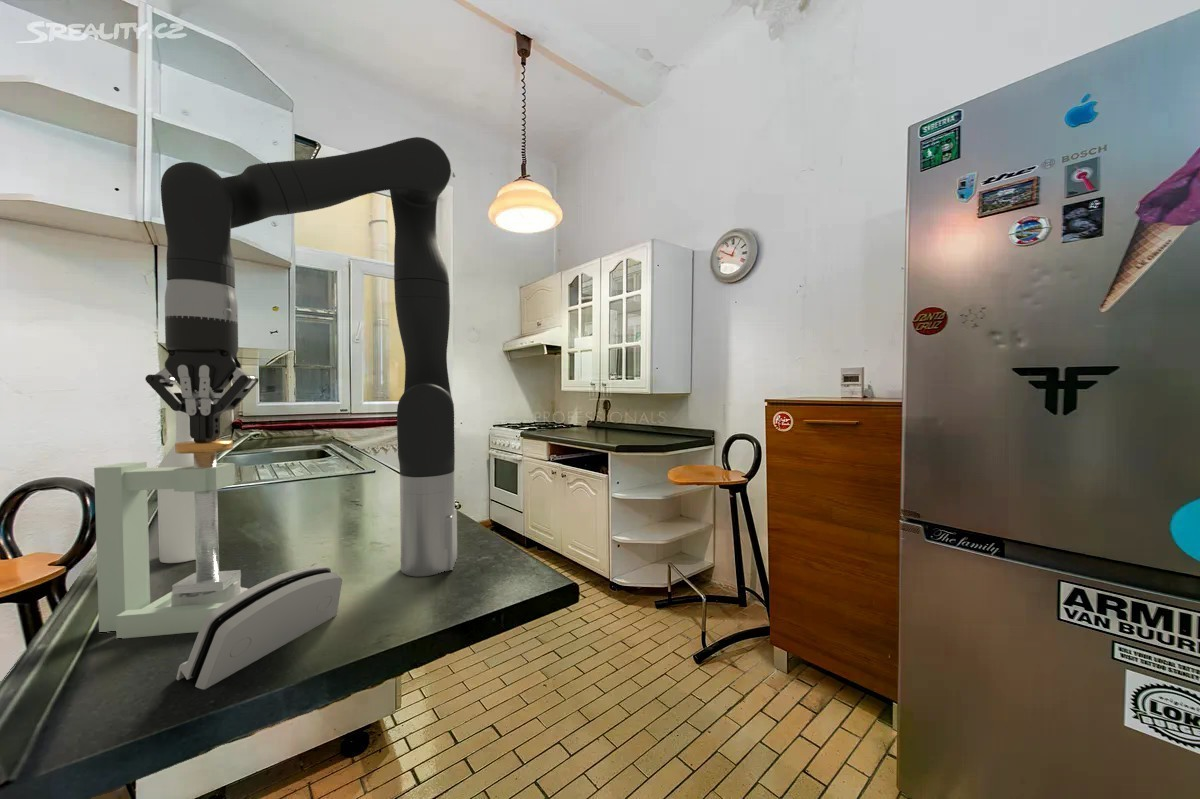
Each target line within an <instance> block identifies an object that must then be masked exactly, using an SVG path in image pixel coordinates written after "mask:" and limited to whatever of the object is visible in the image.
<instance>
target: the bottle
mask: <svg viewBox="0 0 1200 799" xmlns="http://www.w3.org/2000/svg"><path fill="white" fill-rule="evenodd" d="M187 441H194V438H191V436H190V417H189V415H188V414H187V413H185V412H181V411H175V442H174V444H173V446H172V447H171V449H169V451H168V452H167V454H165V456H164V458H162V460H161V462H159V465H158V466H157V468H163V467H186V466H190V465H194V459H193V453H190V454H180V453H175V443H179V442H187ZM156 492H157V520H158V522H157V524H158V526H157V527H158V559H159V562H161V563H163V564H178V563H185V562H191V561H196V542H195V500H194V492H180V491H174V489H158V490H156Z"/></svg>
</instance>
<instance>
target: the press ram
mask: <svg viewBox="0 0 1200 799" xmlns="http://www.w3.org/2000/svg"><path fill="white" fill-rule="evenodd" d="M233 443H234V442H233V439H229V438H228V439H222V438H221V439H219V438H218V439H217V438H216V441H213V442H200V443H196V442H194V441H187V442H179V443H175V442H174V444H175V453H180V454H190V453H193V459H194V468H211V467H215V466H217V463H218V462H217V461H218V459H217V453H218V452H224V451H230V450H233V449H234V446H233V445H234V444H233ZM194 500H195V542H196V559H195V572H194V573H192V574H190V575H188V576H186V577H184V578H183V579H181V580H179V581H177V582H176V583H174V584H172V586H171V588H172V591H171V592H172V593H173V594H180V593H194V592H207V591H221V590H224V589H226V588H227V587H229V586H230V585H231V584H233V583H234V582H236V581H237V580H239V579H240V580H241V579H242V572H241V569H236V570H221V571H220V554H219V553H220V552H219V551H220V550H219V549H220V548H219V512H218V511H219V508H218V507H219V506H218V504H219V503H218V502H219V501H218V490H207V491H194Z"/></svg>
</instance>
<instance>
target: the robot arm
mask: <svg viewBox="0 0 1200 799" xmlns="http://www.w3.org/2000/svg"><path fill="white" fill-rule="evenodd" d="M451 175H452V164H451V161H450V159H449V156H448V155H447V153H446V152H445V150H444V149H443V148H442V147H441V146H440V144H437V142H434V141H433V140H431V139H429V138H426V137H420V136H413V137H408V138H406V139H401V140H398V141H393V142H391V143H387V144H384V145H380V146H376V147H372V148H371V147H370V148H369V149H368V148H367V149H363V150H357V151H353V152H348V153H344V154H336V155H331V156H323V157H317V158H316V157H315V158H306V159H305V158H304V159H294V160H282V161H275V162H262V163H255V164H252V165H249V166H247V167H245V169H244V170H243V172H242V173H239V174H236V175H231V176H226V177H221V176H220V175H219V174H218V173H217V172H216V171H215V170H214V169H212V168H210V167H208V166H205V165H203V164H201V163H198V162H192V161H183V162H177V163H174V164H173V165H171V166H169V167H168V168H167V169H166V170H165V172H163V175H162V177H161V180H160V201H161V208H162V215H163V222H164V228H165V233H166V240H167V242H166V243H167V245H166V246H167V248H166V288H165V292H164V293H165V294H164V334H165V335H164V336H165V348H166V349H167V352H168V356H167V357H166V360H165V361H164V368H163V369H161V370H160V371H158V372H157V373H155V374H147V375H146V376H145V381H146V383H147V384H148V385H149V386H150V387H151V388H152V389H153V390H154V391H155V393H157V394H158V396H159V397H160V398H161V399H162V400H163V402H164V403H166V404H167V405H168V406H169V408H170V409H171V410H173V411H174V412H176V411H181V412H185V413H187V414H188V415H189V417H190V436H191V438H194V442H196V443H200V442H213V441H216V439H217V438H219V437H220V435H221V414H223V413H225V412H227V411H228V412H229V411H233V410H235V409H236V408H237V407H238V406H239V405H240V403H242V401H243V400H244V398H246V397H247V395H248V394H249V393H250V392H251V391H252V389H253V388H254V387H255V386H256V385H257V384H258V382H259V377H258V376H257V375H251V374H249V373H248V372H246V371H245V370H244V369H242V368H241V367H242V365H241V362H240V361H239V359H238V357H237V356H238V352H239V324H238V323H239V318H238V316H239V314H238V313H239V312H238V311H239V310H238V309H239V308H238V301H237V300H238V299H237V295H236V279H235V278H236V274H235V273H236V270H235V260H234V256H233V251H232V246H231V240H232V238H231V236H232V234H231V233H232V232H231V230H232V229H235V228H239V227H244V226H246V225H250V224H253V223H257V222H260V221H262V220H264V219H267V218H271V217H274V216H275V217H276V216H284V215H285V216H286V215H291V214H298V213H299V214H300V213H306V212H313V211H318V210H322V209H326V208H330V207H334V206H337V205H340V204H343V203H345V202H348V201H351V200H354V199H357V198H359V197H363V196H365V195H369V194H374V193H377V192H382V191H389V193H390V195H389V196H390V200H391V206H392V213H393V214H392V215H393V221H394V222H393V223H394V231H395V232H394V249H393V250H394V251H393V252H394V253H393V255H394V256H393V257H394V258H393V259H394V260H393V267H394V268H393V270H394V271H393V273H394V275H393V285H394V302H395V303H394V304H395V312H396V320H397V325H398V329H399V330H398V331H399V336H400V339H401V343H402V344H401V345H402V349H403V354H404V366H405V367H404V387H403V389H404V390H403V393H402V394H401V396H400V397H399V401H398V404H397V409H396V436H397V438H396V439H397V459H398V464H399V512H400V515H399V519H400V520H399V523H400V525H399V526H400V527H399V528H400V529H399V530H400V531H399V532H400V571H401V573H402V574H403V575H406V576H410V577H429V576H434V575H438V573H439V574H442V573H444V571H445V572H448V571H449V570H452V571H454V568H453V567H455V566H456V563H455V562H457V560H458V510H457V508H456V507H455V506H456V503H455V500H456V499H455V498H456V496H455V494H456V492H455V491H456V490H455V489H456V488H455V484H456V483H455V476H456V475H455V459H456V457H455V454H456V453H455V405H454V400H453V396H452V393H451V392H452V391H451V387H450V379H449V373H448V361H447V360H448V358H447V357H448V355H447V352H448V343H449V332H450V313H451V300H450V298H451V296H450V280H449V273H448V269H447V265H446V261H445V258H444V256H443V253H442V249H441V247H440V243H439V239H438V234H437V213H438V212H437V211H438V210H437V209H438V201H439V197H440V195H442V193H443V191H445V188H447V186H448V184H449V182H450V179H451ZM177 383H178V384H179V386H180V387H179V386H178V385H177ZM230 383H232V385H231V386H230V387H229V389H227V386H228V385H229V384H230ZM226 389H227V390H226ZM456 559H457V560H456ZM441 572H442V573H441ZM449 572H450V571H449Z"/></svg>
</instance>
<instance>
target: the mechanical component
mask: <svg viewBox="0 0 1200 799" xmlns="http://www.w3.org/2000/svg"><path fill="white" fill-rule="evenodd" d="M248 589H249V588H248V587H242V586H241V578H240V579H239V580H237V581H236V582H234V583H233V584H231V585H230V586H229V587H227V588H226V589H224V590H221V591H207V592H194V593H180V594H173V593H172V594H171V604H170V605H169V606H167V607H176V606H189V605H202V604H215V603H226V602H227V601H229V600H230V599H232V598H234V597H235V596H237V595H239V594H241V593H242V592H244V591H246V590H248Z"/></svg>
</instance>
